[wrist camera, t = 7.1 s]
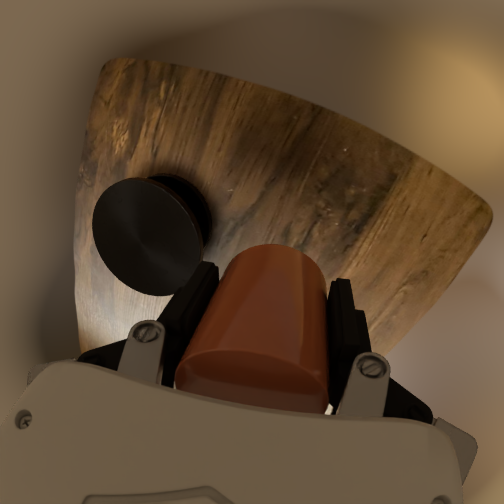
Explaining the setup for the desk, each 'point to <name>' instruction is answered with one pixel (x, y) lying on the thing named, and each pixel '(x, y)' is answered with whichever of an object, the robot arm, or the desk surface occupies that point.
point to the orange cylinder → (263, 334)
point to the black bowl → (152, 232)
